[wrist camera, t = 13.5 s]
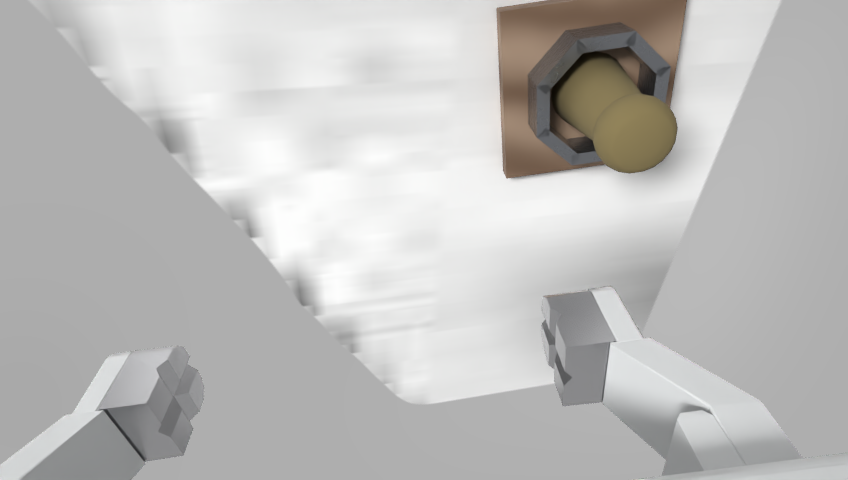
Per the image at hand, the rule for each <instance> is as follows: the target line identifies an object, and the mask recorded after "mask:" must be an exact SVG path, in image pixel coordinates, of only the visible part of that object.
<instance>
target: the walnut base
mask: <svg viewBox="0 0 848 480" xmlns="http://www.w3.org/2000/svg"><path fill="white" fill-rule="evenodd" d="M686 2H687V0H546V1H540V2H533V3H527V4H520V5H513V6H507V7H500V8H497V30H498V54H499V78H500V103H501V127H502V151H503V171H504V174H505V176H506V178H512V177H519V176H526V175H533V174H540V173H547V172H554V171H561V170H568V169H575V168H583V167H590V166H597V165H604V162H603V161H600V162H593V163H586V164H579V165H571V164H570V163H568V162H567V161H566V160H565V159H563V158H562V157H561V156H559V155H558V154H557V153H556V152H554V151H553V150H552V149H551V148H549V147H548V146H547V145H546V144H544V143H543V142H542V141H540V140H539V139H538V138H537V137H536V136H535V134H534V133H533V131H532V129H531V128H530V126H529V124H528V73H529V72H530V71H531V70H532V69H533V68H534V66H535V65H536V64H537V63H538V62H539V61H540V59H541V58H542V57H543V56H544V55H545V54H546V52H547V51H548V50H549V49H550V48H551V47H552V45H553V44H554V43H555V42H556V41H557V40H558V38H559V37H560V36H561V35H562V34H563V33H564V31H565V30H571V29H577V28H584V27H591V26H597V25H604V24H611V23H618V22H621V23H623V24H625V25H626V26H628V27H630V28H632V29H634V30H636V32H637V33H638V34H639V35H640V36H641V37H642V38H643V39H644V40H645V41H646V42H647V43H648V44H649V45H650V46H651V47H652V48H653V49H654V50H655V51H656V52H657V53H658V54H659V55H660V56H661V57H662V58H663V59H664V60H665V61H666V62H667V63H668V64H669V65H670V66H671V69H670V76H669V82H668V89H667V95H666V102H665V103H666V104H667V105H668V106H669V108H670V103H671V97H672V90H673V84H674V78H675V71H676V65H677V59H678V53H679V46H680V40H681V34H682V27H683V21H684V15H685V8H686ZM594 52H596V51H594ZM597 52H602V53H607V54H609V55H611V56H612V57H614V58H615V59H617V61H618V62H619V63H620V65H621V66H622V67H623V69H624V70H625V71H626V73H627V74H628V75H629V77H630V78H631V80H632V81H633V82H634V84H635V85H636V86H637V84H638V76H639V67H640V62H638V61H637V60H636V59H635V58H634V57H633V56H632V55H631V54H630V53H629V52H628V51H627V50H626V49H625V48H624V47H621V48H614V49H608V50H601V51H597ZM587 53H589V52H587ZM583 54H584V53H583ZM552 88H553V87H552ZM552 88H551V89H550V126H552V127H553V128H554V129H555V130H556V131H558V132H559V133H560V134H561V135H563V136H564V137H565V138H566V139H570V138H577V137H584V136H585V135H584V134H583V133H581V132H580V131H578V130H577V129H576V128H574V127H573V126H571V125H570V124H568V123H567V122H566V121H564V120H563V119H561V117H560V116H559V115H558V114H557V113H556V111H555V109H554V106H553V103H552Z"/></svg>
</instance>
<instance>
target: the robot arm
mask: <svg viewBox="0 0 848 480" xmlns="http://www.w3.org/2000/svg"><path fill="white" fill-rule="evenodd" d="M542 311H543V314H544V317H545V320H544V322H543V323H542V340H543V347H544V351H545V355H546V358H547V361H548V364H549V366H551V367H552V368H554V382H555V385H556V388H557V391H558V393H559V396H560V399H561V401H562V405H563V406H569V405H579V404H589V403H599V402H603V405H604V406H605V407H607V408H608V409H609V410H610V411H611V412H613V414H615V415H616V416H617V417H618V418H619V419H620V420H621V421H622V422H624V423H625V424H626V425H627V426H628V427H629V428H630V429H632V430H633V431H634V432H635V433H636V434H637V435H638V436H640V437H641V438H642V439H643V440H644V441H645V442H646V443H647V444H648V445H650V446H651V447H652V448H653V449H654V450H655V451H657V452H658V453H659V454H660V455H661V456H662V457H663V458H664V459H666V462H665V466H664V470H663V473H662V476H659V477H650V478H643V479H634V480H848V453H841V454H833V455H826V456H817V457H809V458H802V456H801V455H800V454H799V452H798V451H797V449H796V448H795V447H794V445H793V444H792V443H791V441H790V440H789V439H788V437H787V436H786V435H785V433H784V432H783V430H782V429H781V428H780V426H779V425H778V424H777V422H776V421H775V420H774V418H773V417H772V415H771V414H770V413H769V412H768V410H767V409H766V407H765V406H764V405H763V403H762V402H761V401H760V400H758V399H756V398H755V397H753V396H751V395H749V394H748V393H746V392H744V391H742V390H741V389H739V388H737V387H735V386H734V385H732V384H730V383H729V382H727V381H725V380H723V379H722V378H720V377H718V376H716V375H715V374H713V373H711V372H710V371H708V370H706V369H704V368H702V367H701V366H699V365H697V364H696V363H694V362H692V361H690V360H689V359H687V358H685V357H684V356H682V355H680V354H678V353H677V352H675V351H673V350H671V349H670V348H668V347H666V346H664V345H663V344H661V343H659V342H658V341H656V340H654V339H652V338H643V336H642V334H641V333H640V331H639V329H638V328H637V326H636V324H635V323H634V321H633V319H632V317H631V316H630V314H629V312H628V311H627V309H626V307H625V306H624V304H623V302H622V300H621V299H620V297H619V295H618V294H617V292H616V290H615V289H614V288H613V287H611V286H607V287H600V288H594V289H588V290H582V291H575V292H568V293H561V294H554V295H547V296H543V299H542ZM189 358H190V356H189V354H188V353H187V351H186V350H185V348H184V347H182V346H170V347H162V348H153V349H144V350H135V351H130V352H120V353H113V354H112V355H110V356H109V357H107V358H106V360H105V362H104V363H103V365H102V366H101V368H100V370H99V371H98V373H97V375H96V376H95V378H94V380H93V381H92V383H91V384H90V386H89V388H88V389H87V391H86V392H85V394H84V396H83V397H82V399H81V401H80V402H79V404H78V405H77V407H76V409H75V410H74V412H73V414H71V415H65V416H63V417H62V418H61V419H60V420H59V421H57V422H56V423H54V424H53V425H52V426H51V427H49V428H48V429H47V430H45V431H44V432H43V433H41V434H40V435H39V436H38V437H36V438H35V439H33V440H32V441H31V442H30V443H28V444H27V445H26V446H24V447H23V448H22V449H21V450H19V451H18V452H17V453H15V454H14V455H13V456H11V457H10V458H9V459H7V460H6V461H5V462H4V463H2V464H1V465H0V480H131V479H132V478H133V477H134V476H135V475H136V474H137V473H138V472H139V470H140V469H141V468H142V467H143V466H144V465H145V462H146V461H152V460H158V459H165V458H171V457H177V456H183V455H184V452H185V450H186V447H187V444H188V442H189V439H190V436H191V434H192V431H193V427H192V425H191V422H190V420H191V419H192V418H193V417H194V416H195V415H196V414H197V413H198V412H199V411H200V409H201V406H202V403H203V400H204V384H203V380H202V377H201V375H200V373H199V372H198V370H197V369H195V368H193V367H191V366H190V365H188V364H187V363H188V360H189Z"/></svg>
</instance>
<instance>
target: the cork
mask: <svg viewBox="0 0 848 480" xmlns="http://www.w3.org/2000/svg"><path fill="white" fill-rule="evenodd" d="M552 103H553V106H554V109H555V111H556V113H557V114H558V115H559V116H560V117H561V119H563V120H564V121H566V122H567V123H568V124H570V125H571V126H573V127H574V128H576V129H577V130H578V131H580V132H581V133H583V134H584V135H585V136H587V137H588V138H590V139H591V140H593V144H594V147H595V150H596V154H597V155H598V156H599V158H600V159H601V160H602V161H603V162H604V164H605V165H607V166H608V167H610V168H612V169H614V170H616V171H618V172H624V173H635V172H642V171H645V170H648V169H650V168H652V167H654V166H656V165H657V164H658V163H660V162H661V161H663V159H664V158H665V157H666V156H667V155H668V154H669V153H670V151H671V149H672V147H673V145H674V143H675V140H676V134H677V123H676V118H675V116H674V114H673V112H672V111H671V109H670V108H669V106H668V105H667V104H666V103H664V102H663V101H661V100H659V99H658V98H656V97H654V96H650V95H644V94H642V93H641V92H640V90H639V89H638V88H637V86H636V85H635V84H634V82H633V81H632V80H631V78H630V77H629V75H628V74H627V73H626V71H625V70H624V69H623V67H622V66H621V65H620V63H619V62H618V61H617V59H615V58H614V57H612V56H611V55H609V54H607V53H602V52H597V51H596V52H589V53H584V54H582V55H581V56H580V57H579V58H578V59H577V60H576V61H575V63H574V64H573V65H572V66H571V67H570V68H569V69H568V70H567V71H566V73H565V74H564V75H563V76H562V77H561V78H560V79H559V80H558V81H557V83H556V84H555V85H554V86H553V88H552Z"/></svg>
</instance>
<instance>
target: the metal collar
mask: <svg viewBox="0 0 848 480" xmlns="http://www.w3.org/2000/svg"><path fill="white" fill-rule="evenodd" d="M621 47H624V48H625V49H626V50H627V51H628V52H629V53H630V54H631V55H632V56H633V57H634V58H635V59H636V60H637V61H638V62H640V67H639V76H638V84H637V88H638V89H639V90H640V92H641V93H642V94H644V95H650V96H654V97H656V98H658V99H659V100H661V101H663V102H664V103H665V102H666V95H667V89H668V82H669V76H670V69H671V66H670V65H669V64H668V63H667V62H666V61H665V60H664V59H663V58H662V57H661V56H660V55H659V54H658V53H657V52H656V51H655V50H654V49H653V48H652V47H651V46H650V45H649V44H648V43H647V42H646V41H645V40H644V39H643V38H642V37H641V36H640V35H639V34H638V33H637V32H636V30H634V29H632V28H630V27H628V26H626V25H625V24H623V23H621V22H618V23H611V24H604V25H597V26H591V27H584V28H577V29H571V30H565V31H564V33H563V34H562V35H561V36H560V37H559V38H558V40H557V41H556V42H555V43H554V44H553V45H552V47H551V48H550V49H549V50H548V51H547V52H546V54H545V55H544V56H543V57H542V58H541V59H540V61H539V62H538V63H537V64H536V65H535V66H534V68H533V69H532V70H531V71H530V72H529V73H528V124H529V126H530V128H531V129H532V131H533V133H534V134H535V136H536V137H537V138H538V139H539V140H540V141H542V142H543V143H544V144H546V145H547V146H548V147H549V148H551V149H552V150H553V151H554V152H556V153H557V154H558V155H559V156H561V157H562V158H563V159H565V160H566V161H567V162H568V163H570V164H571V165H579V164H586V163H593V162H600V161H602V160H601V159H600V158H599V156H598V155H597V154H596V150H595V147H594V144H593V140H591V139H590V138H588V137H587V136H584V137H577V138H570V139H566V138H565V137H564V136H563V135H561V134H560V133H559V132H558V131H556V130H555V129H554V128H553V127H552V126H550V89H551V88H552V87H553V86H554V85H555V84H556V83H557V81H558V80H559V79H560V78H561V77H562V76H563V75H564V74H565V73H566V71H567V70H568V69H569V68H570V67H571V66H572V65H573V64H574V63H575V61H576V60H577V59H578V58H579V57H580V56H581V55H582V54H583V53H587V52H594V51H601V50H608V49H614V48H621Z"/></svg>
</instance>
